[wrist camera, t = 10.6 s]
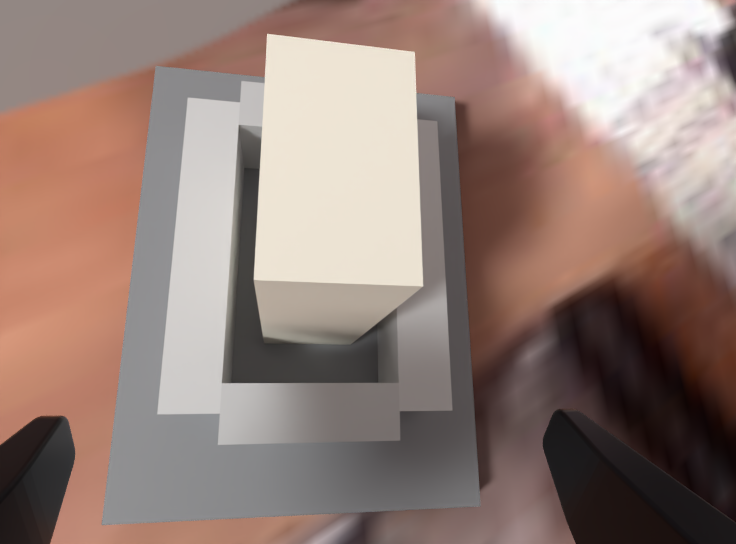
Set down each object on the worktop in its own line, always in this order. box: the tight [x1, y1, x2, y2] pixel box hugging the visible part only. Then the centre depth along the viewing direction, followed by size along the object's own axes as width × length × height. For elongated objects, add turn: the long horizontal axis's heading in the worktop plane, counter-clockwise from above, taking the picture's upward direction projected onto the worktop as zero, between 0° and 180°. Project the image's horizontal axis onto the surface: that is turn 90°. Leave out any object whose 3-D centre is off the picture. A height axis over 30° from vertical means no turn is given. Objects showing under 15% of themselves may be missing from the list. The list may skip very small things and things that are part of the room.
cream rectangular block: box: [254, 34, 423, 345], centre depth 14 cm, size 6×3×9 cm, turn 0°
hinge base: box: [102, 66, 480, 525], centre depth 17 cm, size 16×12×4 cm
